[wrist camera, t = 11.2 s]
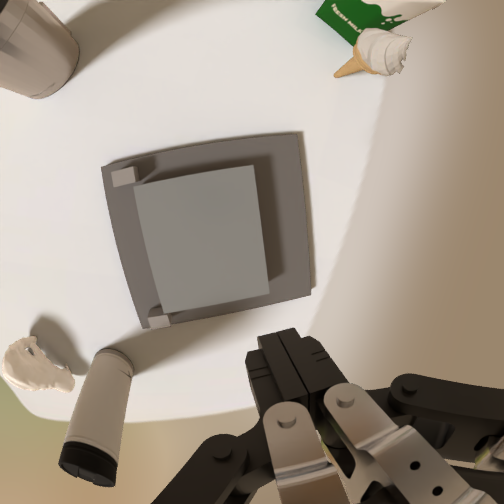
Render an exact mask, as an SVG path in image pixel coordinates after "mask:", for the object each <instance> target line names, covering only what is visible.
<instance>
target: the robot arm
mask: <svg viewBox="0 0 504 504" xmlns="http://www.w3.org/2000/svg"><path fill="white" fill-rule="evenodd" d="M78 58H79V47H78V44H77V43H76V41H75V40H74V39H73V38H72V37H71V31H70V30H69V29H68V28H67V27H66V26H65V25H64V24H63V23H62V22H61V21H60V20H59V19H58V17H57V16H56V15H55V14H54V13H53V12H52V11H51V10H50V9H49V8H48V7H47V6H46V5H45V4H44V3H43V2H39V3H38V2H37V1H36V0H0V87H2V88H5V89H8V90H11V91H13V92H16V93H19V94H21V95H24V96H27V97H30V98H33V99H42V98H45V97H48V96H49V95H51V94H53V93H55V92H56V91H57V90H58V89H60V88H61V87H62V86H63V85H64V84H65V83H66V81H67V80H68V79H69V77H70V76H71V74H72V73H73V71H74V69H75V67H76V64H77V62H78ZM257 340H258V347H259V349H258V350H254V351H249V352H248V353H247V356H246V360H245V364H246V369H247V373H248V378H249V383H250V387H251V390H252V394H253V397H254V400H255V403H256V407H257V410H258V413H259V416H260V419H259V421H258V422H257V424H256V425H255V426H254V427H253V428H252V429H251V430H249V431H247V432H246V433H244V434H242V435H240V436H238V437H236V436H234V435H230V434H219V435H214V436H212V437H210V438H208V439H206V440H205V441H204V442H203V443H202V444H201V445H200V447H199V448H198V449H197V450H196V452H195V453H194V454H193V455H192V457H191V458H190V459H189V460H188V462H187V463H186V464H185V465H184V466H183V468H182V469H181V470H180V471H179V472H178V473H177V475H176V476H175V477H174V478H173V479H172V481H171V482H170V483H169V484H168V485H167V486H166V488H165V489H164V490H163V491H162V492H161V493H160V494H159V495H158V496H157V498H156V499H155V500H154V501H153V502H152V503H151V504H249V503H250V501H251V500H252V498H253V496H254V495H255V493H256V492H257V490H258V488H260V487H262V486H264V485H266V484H267V483H269V482H271V481H272V480H274V479H276V483H277V487H278V491H279V496H280V500H281V504H350V502H349V500H348V497H347V495H346V492H345V490H344V487H343V485H342V482H341V480H340V477H339V475H340V476H341V478H342V479H343V481H344V483H345V486H346V491H347V494H348V496H349V498H350V499H351V501H352V503H353V504H504V389H497V388H489V387H482V386H475V385H469V384H463V383H457V382H452V381H446V380H441V379H436V378H431V377H426V376H422V375H417V374H403V375H400V376H398V377H396V378H395V379H394V380H393V382H392V383H391V386H390V387H388V388H383V389H376V390H364V389H363V388H362V387H360V386H358V385H356V384H353V383H349V382H348V381H347V379H346V378H345V376H344V375H343V374H342V372H341V371H340V370H339V368H338V367H337V365H336V364H335V363H334V361H333V360H332V358H330V356H329V354H328V353H327V352H326V351H325V349H324V347H323V346H322V345H321V343H320V342H319V341H317V340H316V339H314V338H312V337H311V336H307V337H304V338H301V337H300V335H299V334H298V332H297V331H296V329H295V328H290V329H286V330H282V331H278V332H276V333H271V334H266V335H262V336H258V337H257ZM316 430H318V432H319V434H320V435H321V443H320V440H319V438H318V435H317V432H316ZM324 451H325V453H326V454H327V456H328V458H329V459H330V460H331V462H332V463H329V462H328V461H327V458H326V456H325V453H324ZM443 458H444V459H450V460H457V461H464V462H473V463H475V466H474V469H470V468H465V467H458V466H453V465H449V464H448V463H447V462H446V461H445V460H444V459H443ZM338 473H339V475H338Z"/></svg>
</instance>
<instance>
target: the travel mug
mask: <svg viewBox="0 0 504 504" xmlns="http://www.w3.org/2000/svg"><path fill="white" fill-rule="evenodd" d="M133 372H134V368H133V365H132V363H131V361H130V360H129V359H128V358H127V357H126V356H125V355H124V354H122V353H121V352H119V351H116V350H113V349H103V350H100V351H99V352H97V353H96V354H95V357H94V359H93V361H92V364H91V366H90V369H89V371H88V374H87V376H86V379H85V381H84V384H83V386H82V389H81V392H80V394H79V397H78V400H77V403H76V406H75V408H74V411H73V414H72V417H71V420H70V424H69V426H68V430H67V433H66V436H65V439H64V443H63V449H62V452H61V456H60V459H59V463H58V464H59V466H60V468H62V469H63V470H64V471H65V472H67V473H69V474H70V475H72V476H74V477H76V478H77V476H78V477H79V478H82V479H84V480H86V481H89V482H93V484H95V485H98V486H103V487H114V486H115V483H116V471H117V467H118V459H119V451H120V444H121V437H122V430H123V424H124V418H125V412H126V407H127V401H128V396H129V391H130V386H131V381H132V377H133Z"/></svg>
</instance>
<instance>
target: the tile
mask: <svg viewBox="0 0 504 504" xmlns="http://www.w3.org/2000/svg"><path fill="white" fill-rule="evenodd" d="M133 188H134V194H135V199H136V204H137V209H138V214H139V219H140V224H141V228H142V233H143V237H144V242H145V246H146V250H147V254H148V258H149V262H150V266H151V270H152V274H153V277H154V281H155V285H156V288H157V292H158V295H159V299H160V302H161V305H162V309H163V312H164V314H165V313H171V312H177V311H183V310H189V309H194V308H200V307H205V306H210V305H216V304H221V303H226V302H231V301H236V300H241V299H246V298H251V297H256V296H261V295H265V294H270V293H269V284H268V276H267V268H266V259H265V251H264V243H263V235H262V227H261V219H260V211H259V204H258V196H257V188H256V181H255V173H254V166H253V165H248V166H241V167H234V168H227V169H221V170H214V171H208V172H202V173H197V174H191V175H186V176H180V177H175V178H170V179H165V180H160V181H156V182H151V183H147V184H142V185H138V186H134V187H133Z"/></svg>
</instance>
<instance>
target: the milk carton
mask: <svg viewBox="0 0 504 504" xmlns="http://www.w3.org/2000/svg"><path fill="white" fill-rule="evenodd" d="M445 1H446V0H325V1H324V3H323V4H322V6H321V7H320V8H319V10H318V11H317V13H316V14H315V15H317V16H318V17H319V18H321V19H322V20H323V21H324V22H326V23H327V24H328V25H329V26H330V27H332V28H333V29H334V30H335V31H336V32H337V33H339V34H340V35H341V36H342V37H343V38H344V39H345V40H346V41H348V42H349V43H350V44H351V45H352V46H353V47H354V45H355V44H356V41H357V38H358V36H359V35H360V34H361V33H362V32H363V31H364V30H365V29H366V28H378V29H381V30H385V31H388V30H390V29H392V28H394V27H396V26H398V25H400V24H402V23H404V22H406V21H408V20H410V19H412V18H414V17H416V16H418V15H421V14H422V13H425V12H427V11H428V10H430V9H434V8H436V7H438V6H439V5H441V4H442V3H444V2H445Z"/></svg>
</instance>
